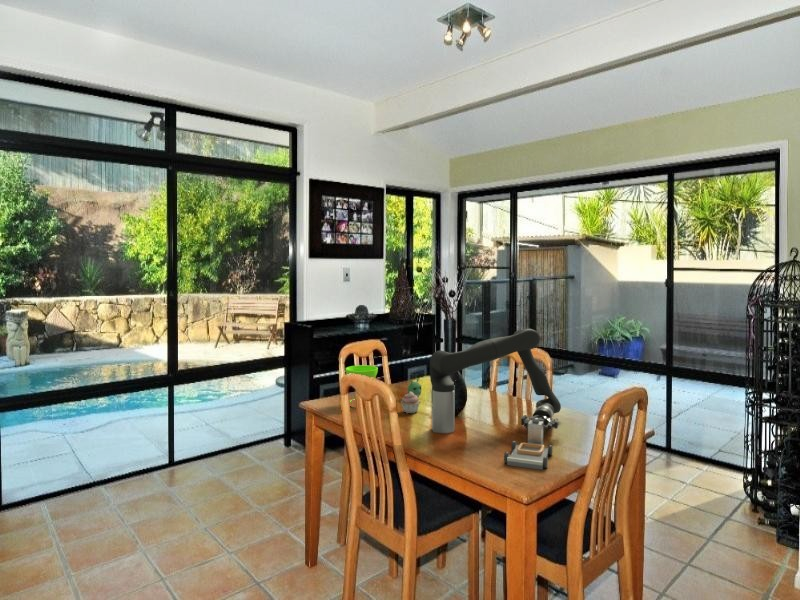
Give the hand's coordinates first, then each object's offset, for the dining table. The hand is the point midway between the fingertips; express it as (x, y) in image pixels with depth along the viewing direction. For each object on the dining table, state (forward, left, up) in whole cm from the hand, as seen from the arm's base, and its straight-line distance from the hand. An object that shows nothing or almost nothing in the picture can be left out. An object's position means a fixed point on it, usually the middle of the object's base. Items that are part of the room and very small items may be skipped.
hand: (537, 426), depth 215 cm
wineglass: (-70, +62, -6) cm, 93 cm away
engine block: (-2, -4, -6) cm, 7 cm away
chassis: (-8, -18, -6) cm, 21 cm away
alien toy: (-43, +72, -6) cm, 84 cm away
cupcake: (-47, +46, -6) cm, 66 cm away
